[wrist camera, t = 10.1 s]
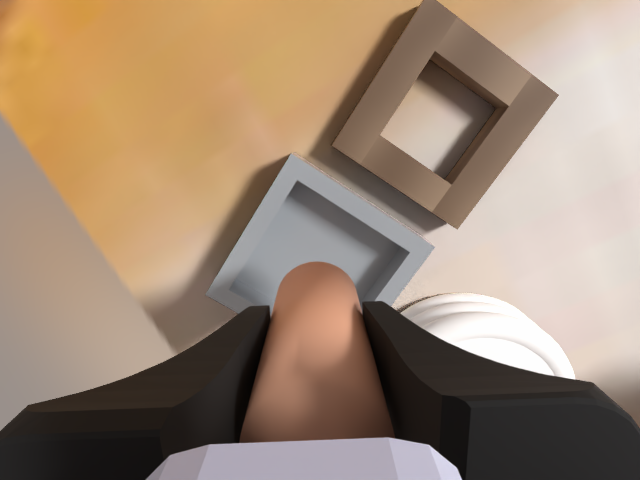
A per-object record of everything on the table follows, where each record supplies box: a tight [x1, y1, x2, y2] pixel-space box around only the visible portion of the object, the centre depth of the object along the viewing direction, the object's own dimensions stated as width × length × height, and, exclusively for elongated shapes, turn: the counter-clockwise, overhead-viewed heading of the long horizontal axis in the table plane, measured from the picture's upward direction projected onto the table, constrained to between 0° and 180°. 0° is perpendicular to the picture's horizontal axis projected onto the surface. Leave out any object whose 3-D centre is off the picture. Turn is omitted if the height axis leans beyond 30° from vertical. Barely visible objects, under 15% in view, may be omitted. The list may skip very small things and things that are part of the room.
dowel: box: [239, 261, 395, 443], centre depth 11 cm, size 3×3×7 cm
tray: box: [205, 152, 435, 318], centre depth 18 cm, size 8×8×2 cm
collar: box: [331, 0, 559, 229], centre depth 17 cm, size 7×7×1 cm
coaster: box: [400, 293, 576, 380], centre depth 19 cm, size 10×10×4 cm
